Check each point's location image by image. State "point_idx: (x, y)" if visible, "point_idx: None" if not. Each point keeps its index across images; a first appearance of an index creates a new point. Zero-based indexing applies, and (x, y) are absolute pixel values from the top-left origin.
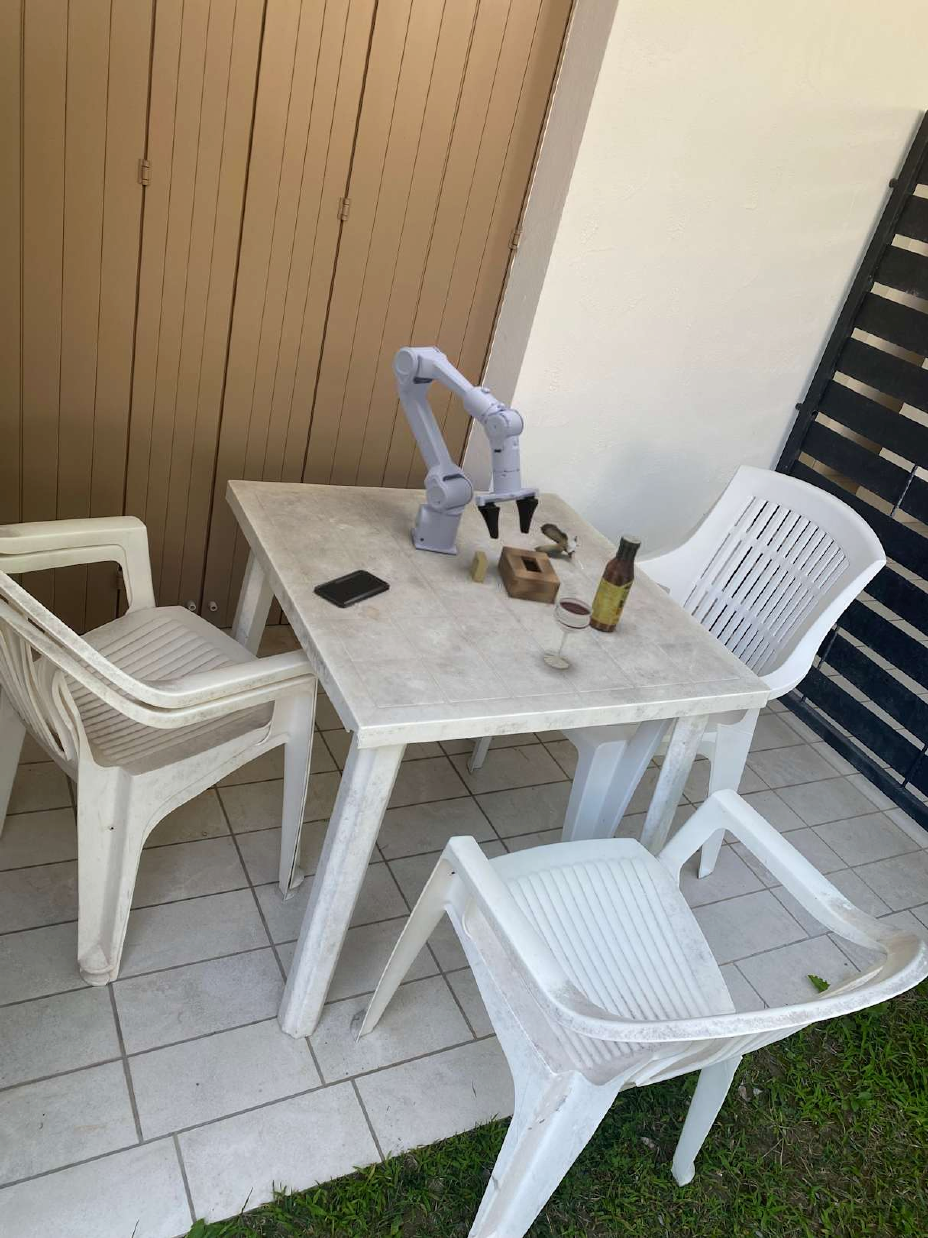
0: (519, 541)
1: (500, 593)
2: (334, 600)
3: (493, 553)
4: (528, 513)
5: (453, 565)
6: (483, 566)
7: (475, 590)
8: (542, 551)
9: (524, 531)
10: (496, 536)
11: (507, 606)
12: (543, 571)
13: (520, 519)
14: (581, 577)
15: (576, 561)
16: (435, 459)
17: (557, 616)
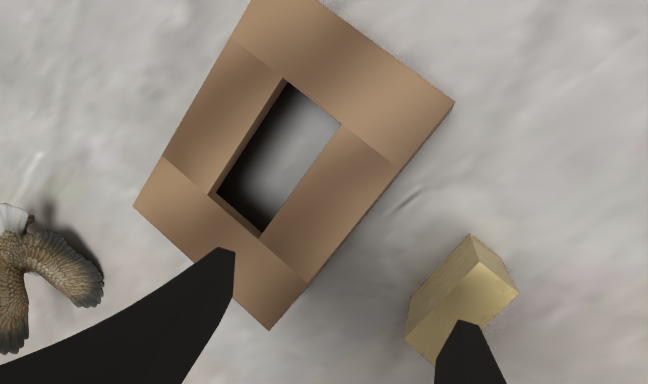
0: None
1: (461, 146)
2: None
3: (247, 354)
4: (137, 351)
5: None
6: (491, 266)
7: (554, 207)
8: (90, 276)
9: (229, 274)
10: (481, 335)
11: (525, 54)
12: (264, 88)
13: (184, 368)
14: (78, 114)
15: (28, 193)
16: None
17: None
